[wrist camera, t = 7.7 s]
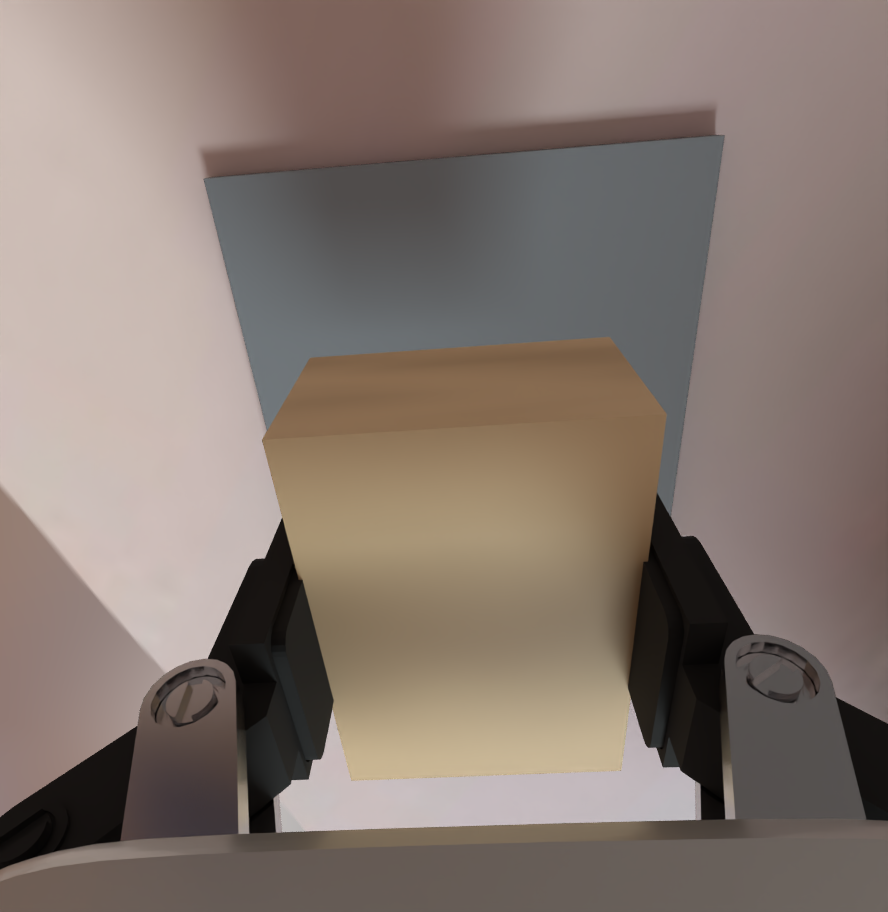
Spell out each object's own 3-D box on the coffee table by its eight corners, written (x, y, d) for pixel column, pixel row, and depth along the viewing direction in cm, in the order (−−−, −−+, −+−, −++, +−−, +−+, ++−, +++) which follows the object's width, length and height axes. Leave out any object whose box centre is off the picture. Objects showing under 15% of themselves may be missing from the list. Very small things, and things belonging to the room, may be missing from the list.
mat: (715, 134, 16) (724, 135, 15) (660, 544, 23) (665, 554, 22) (211, 177, 17) (203, 178, 16) (305, 561, 23) (302, 571, 23)
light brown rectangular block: (588, 646, 15) (621, 770, 12) (369, 656, 15) (351, 780, 12) (609, 336, 11) (666, 414, 8) (310, 357, 11) (261, 440, 8)
